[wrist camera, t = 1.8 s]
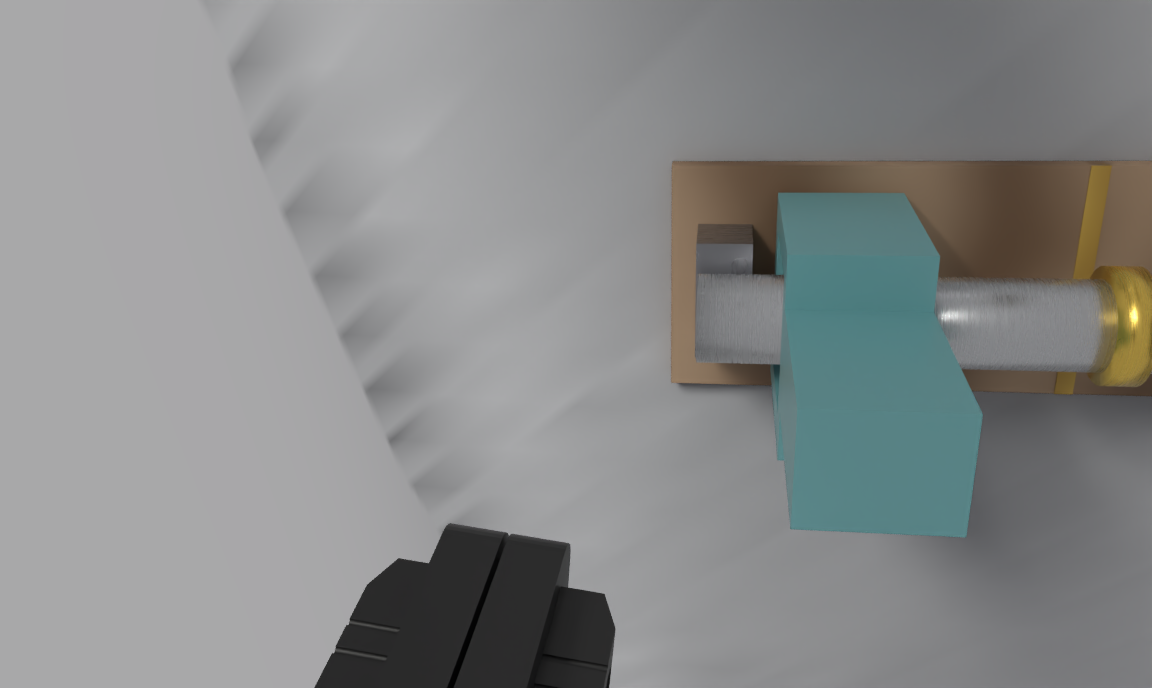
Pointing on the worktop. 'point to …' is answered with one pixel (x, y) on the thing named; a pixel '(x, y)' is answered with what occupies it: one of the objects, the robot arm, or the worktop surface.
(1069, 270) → the board
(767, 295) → the pipe
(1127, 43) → the worktop surface
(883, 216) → the sleeve
